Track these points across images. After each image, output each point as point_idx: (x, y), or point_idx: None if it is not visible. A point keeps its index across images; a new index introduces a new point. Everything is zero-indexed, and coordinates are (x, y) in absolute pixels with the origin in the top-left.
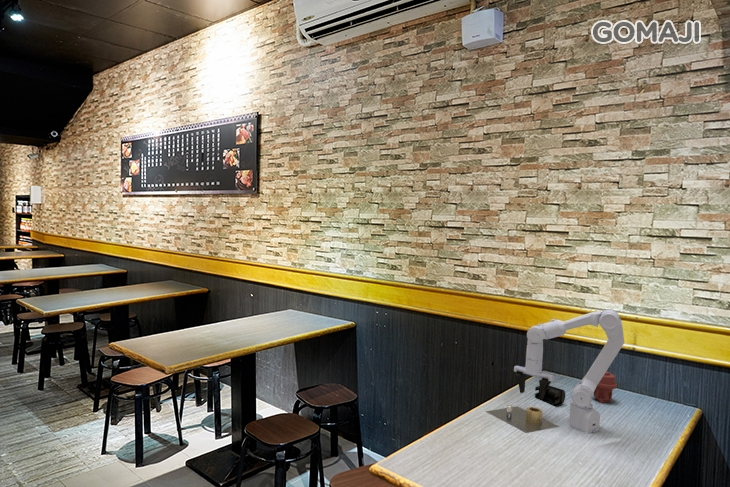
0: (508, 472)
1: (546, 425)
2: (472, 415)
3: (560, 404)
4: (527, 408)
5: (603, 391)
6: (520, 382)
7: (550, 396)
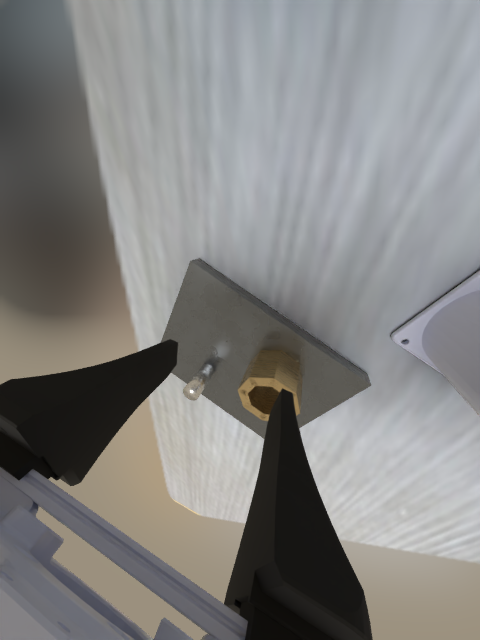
0: None
1: (320, 392)
2: None
3: None
4: (242, 398)
5: None
6: (124, 420)
7: None
